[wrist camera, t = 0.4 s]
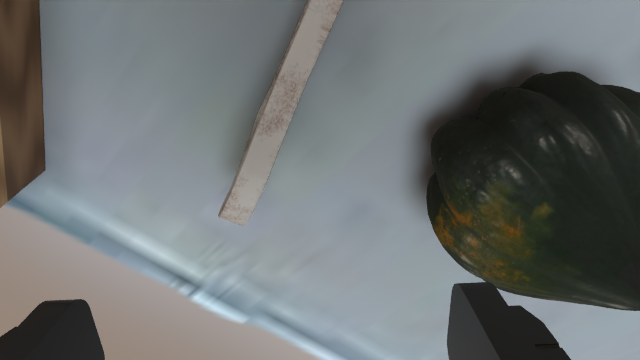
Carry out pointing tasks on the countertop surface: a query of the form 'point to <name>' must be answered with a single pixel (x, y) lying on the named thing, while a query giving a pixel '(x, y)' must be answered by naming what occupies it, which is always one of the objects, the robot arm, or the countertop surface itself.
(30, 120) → the cabinet
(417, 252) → the countertop surface
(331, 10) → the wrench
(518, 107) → the squash
